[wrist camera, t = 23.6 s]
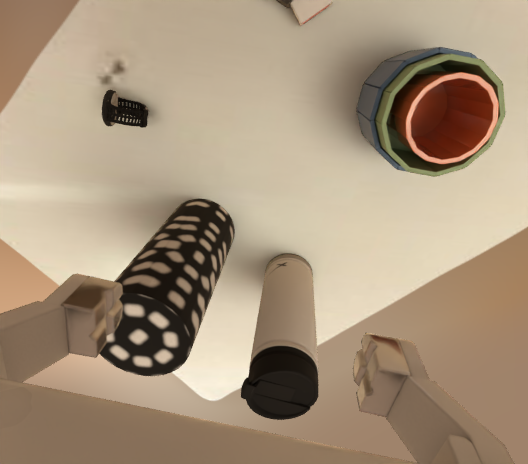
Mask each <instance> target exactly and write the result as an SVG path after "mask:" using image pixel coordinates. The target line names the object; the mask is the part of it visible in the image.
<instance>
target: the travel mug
mask: <svg viewBox="0 0 528 464" xmlns="http://www.w3.org/2000/svg"><path fill="white" fill-rule="evenodd" d="M317 359H318V358H317V341H316V324H315V307H314V290H313V273H312V269H311V266H310V265H309V263H308V262H307V261H306V260H305V259H303V258H302V257H299V256H297V255H293V254H284V255H280V256H277V257H275V258H274V259H273V260H271V261H270V263H269V264H268V266H267V268H266V272H265V278H264V284H263V290H262V296H261V302H260V308H259V313H258V319H257V325H256V331H255V337H254V343H253V349H252V355H251V362H250V370H249V376H248V378H246V379H245V381H244V383H243V385H242V388H241V397H242V398H243V399H246V401H247V404H248V405H249V407H250V408H251V409H252V410H253V411H254V412H255V413H257V414H259V415H261V416H263V417H266V418H270V419H277V420H282V419H283V420H284V419H291V418H295V417H298V416H301V415H303V414H305V413H306V412H307V411H308V410H309V409H310V406H312V405H314V403H315V402H316V400H317V398H318V360H317Z"/></svg>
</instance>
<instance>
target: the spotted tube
mask: <svg viewBox="0 0 528 464" xmlns="http://www.w3.org/2000/svg"><path fill="white" fill-rule="evenodd" d="M233 238H234V225H233V222H232V219H231V217H230V216H229V214H228V213H227V212H226V211H225V209H223V208H222V207H221V206H220V205H218V204H216V203H214V202H212V201H209V200H204V199H193V200H189V201H187V202H185V203H183V204H181V205H180V206H179V207H178V208H177V209H176V210H175V211H174V213H173V214H172V215H171V216H170V217H169V218H168V220H167V221H166V222H165V223H164V224H163V225H162V227H161V228H160V229H159V230H158V231H157V232H156V234H155V235H154V236H153V237H152V238H151V239H150V241H149V242H148V243H147V244H146V245H145V246H144V248H143V249H142V250H141V251H140V252H139V253H138V255H137V256H136V257H135V258H134V259H133V260H132V262H131V263H130V264H129V265H128V266H127V267H126V269H125V270H124V271H123V272H122V273H121V274H120V276H119V277H118V278H117V279H116V280H115V281H114V282H118V283H121V285H122V289H123V294H122V295H121V297H120V298H119V300H120V301H121V303H122V304H123V312H122V317H121V320H120V323H119V325H118V327H117V328H116V330H115V331H114V333H112V334H110V335H108V336H107V343H106V344H105V346H104V347H103V349H102V350H101V352H100V353H99V354H101V356H102V357H104V358H105V359H106V360H107V361H108V362H110V363H111V364H113V365H114V366H116V367H118V368H120V369H122V370H124V371H127V372H130V373H133V374H137V375H143V376H159V375H164V374H167V373H171V372H173V371H175V370H176V369H178V368H179V367H180V366H182V365H183V364H184V363H185V361H186V360H187V358H188V356H189V354H190V351H191V349H192V346H193V343H194V341H195V338H196V335H197V333H198V330H199V328H200V325H201V322H202V320H203V317H204V315H205V312H206V309H207V307H208V304H209V302H210V299H211V296H212V294H213V291H214V289H215V286H216V283H217V281H218V278H219V275H220V273H221V270H222V268H223V265H224V262H225V260H226V257H227V255H228V252H229V249H230V247H231V244H232V241H233Z"/></svg>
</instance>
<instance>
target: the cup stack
mask: <svg viewBox="0 0 528 464" xmlns="http://www.w3.org/2000/svg"><path fill="white" fill-rule="evenodd" d="M421 70H426V71H449V72H464V73H469V74H473V75H478V76H480V77H481V78H483V79H484V80H485V81H486V82H487V83H489V84H490V85H491V86H492V87H493V89H494V92H495V94H496V97H497V99H498V102H499V110H498V122H497V124H496V126H495V128H494V130H493V132H492V134H491V137H490V138H489V140H488V141H487V142H486V143H485V144H484V145H483V146H482V147H481V148H480V149H479V150H478V151H477V152H476V153H474V154H472V155H470V156H469V157H467V158H465V159H463V160H461V161H459V162H453V163H447V164H438V163H433V162H428V161H425V160H424V159H422V158H421V157H420V156H418V155H417V154H416V153H414V152H413V151H412V150H410V149H409V148H408V147H407V146H405V145H404V144H403V143H401V142H400V141H399V140H397V139H396V138H395V137H394V136H392V135H391V134H390V133H388V130H387V126H386V122H387V119H388V116H389V113H390V110H391V106H392V103H393V100H394V97H395V95H396V93H397V92H398V91H399V90H400V89H401V88H402V87H403V86H404V85H405V84H406V83H407V82H408V81H409V80H410V79H411V78H412V77H413V76H414V75H415V74H416V73H417V72H418V71H421ZM364 83H365V84H363V87H362V91H361V94H360V98H359V102H358V105H357V115H358V120H359V124H360V128H361V132H362V134H363V136H364V137H365V138H366V139H367V140H368V141H369V142H370V144H371V145H372V146H373V147H374V148H375V149H376V150H377V151H378V152H379V153H380V154H381V155H382V156H383V157H384V158H385V159H386V160H387V161H388V162H389V163H390V164H391V165H392V166H393V167H395V168H397V169H398V170H402V171H407V172H412V173H417V174H422V175H428V176H433V177H435V176H440V175H443V174H446V173H450V172H453V171H457V170H460V169H463V168H465V167H467V166H468V165H469V164H471V163H472V162H473V161H474V160H475V159H476V158H478V157H479V156H480V155H481V154H482V153H483V152H485V151H486V150H487V149H488V148H489V147H490V145H492V143H493V141H494V139H495V137H496V134H497V132H498V130H499V128H500V126H501V124H502V121H503V119H504V117H505V103H504V92H503V84H502V81H501V80H500V79H499V78H498V77H497V76H496V75H495V74H494V72H493V71H492V70H491V69H490V68H489V67H488V66H487V65H486V63H485V62H484V61H483V60H481V59H478V58H477V57H476V56H475V55H474V54H472V53H468V52H463V51H458V50H453V49H448V48H442V47H439V48H430V49H422V50H414V51H409V52H406V53H403V54H401V55H398V56H395V57H393V58H390V59H388V60H385V61H384V62H382V63H381V64H380V65H379V67H378V68H377V69H376V70H375V71H374V72H373V73H372V74H371V75H370V77H369V78H368V79H367V80H366V81H365V82H364Z"/></svg>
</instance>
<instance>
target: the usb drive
mask: <svg viewBox="0 0 528 464" xmlns="http://www.w3.org/2000/svg"><path fill="white" fill-rule="evenodd" d="M277 1H278V2H280V3H281V4H282V5H284V6H285V7H287V8H289V7H290V6H291V8H292V10H293V12H294V14H295V16H296V18H297V20H298V22H299V24H300V26H302V25H303V24H304V23H306V22H307V21H309V20H310V19H312V18H313V17H314V16H316V15H317V14H319V13H320V12H322V11H323V10H324V9H326V8H327V7H329V6H330V5H331V4H332V0H277Z"/></svg>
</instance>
